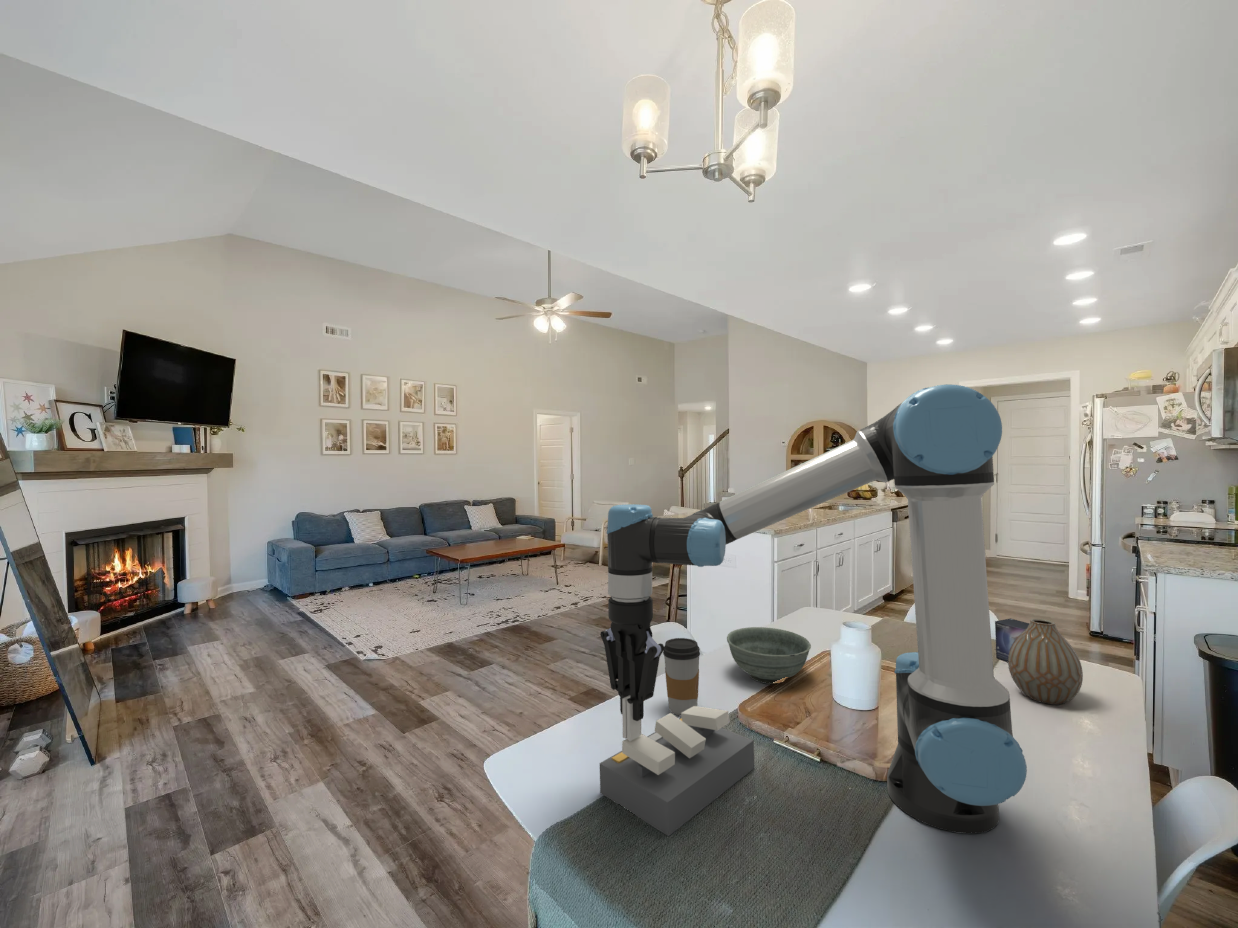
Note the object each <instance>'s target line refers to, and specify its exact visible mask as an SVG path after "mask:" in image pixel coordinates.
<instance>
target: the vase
mask: <svg viewBox="0 0 1238 928" xmlns="http://www.w3.org/2000/svg"><path fill="white" fill-rule="evenodd" d="M1029 621H1030V622H1029V626H1028V627H1027V629H1026V630H1024V631H1023V632H1022V633H1021V634H1020V635H1019V636H1018V637H1017V638H1016V640H1015V641H1014V642H1013V644H1012V646H1011V648H1010V651H1009V656H1008V662H1007V664H1008V671H1009V674H1010V677H1011V679H1012V680H1013V683H1014V684H1015V685H1016V686H1017V687H1018V689H1019V690H1020V691H1021V692H1022V693H1024V694H1025V696H1027V697H1028V698H1029V699H1031V700H1033V701H1037V702H1039V703H1042V704H1046V705H1048V704H1049V705H1056V706H1057V705H1063V704H1065V703H1067V702H1070V701H1071V700H1072V699H1074V698H1075V697H1076V695H1078V694H1079V692H1080V690H1081V688H1082V686H1083V680H1084V679H1083V678H1084V674H1083V673H1084V672H1083V666H1082V662H1081V660H1080V658H1079V655H1078V653H1077V652H1076V651H1075V649H1074V648H1073V646H1072V645H1071V644H1070V643H1069V641H1068V640H1067V639H1066V638H1065V637H1064V636H1063V635H1062V634H1061V633H1060V631H1059V630H1058V628H1057V626H1056V623H1055V621H1052V620H1049V619H1044V618H1031V619H1030V620H1029Z"/></svg>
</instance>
